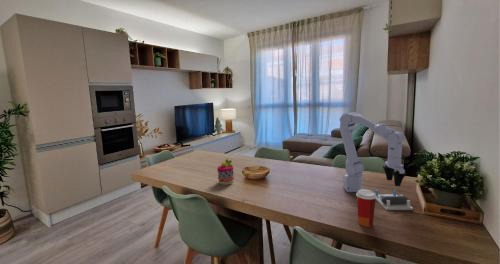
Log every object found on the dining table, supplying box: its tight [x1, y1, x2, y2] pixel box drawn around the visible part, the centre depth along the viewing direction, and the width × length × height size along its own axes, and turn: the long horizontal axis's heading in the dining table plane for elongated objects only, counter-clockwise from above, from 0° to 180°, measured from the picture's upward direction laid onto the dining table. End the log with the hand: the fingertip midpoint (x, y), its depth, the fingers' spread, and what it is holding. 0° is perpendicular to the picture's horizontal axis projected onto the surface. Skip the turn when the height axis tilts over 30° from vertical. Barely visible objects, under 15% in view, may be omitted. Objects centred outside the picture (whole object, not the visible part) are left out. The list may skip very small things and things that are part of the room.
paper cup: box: [355, 188, 377, 228], centre depth 101 cm, size 8×8×14 cm
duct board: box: [374, 189, 414, 211], centre depth 118 cm, size 12×15×4 cm
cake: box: [217, 158, 235, 186], centre depth 155 cm, size 10×11×15 cm
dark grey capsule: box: [382, 195, 409, 204], centre depth 115 cm, size 12×4×4 cm, turn 85°
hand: (393, 182), depth 118 cm, fingers open, 7 cm apart
